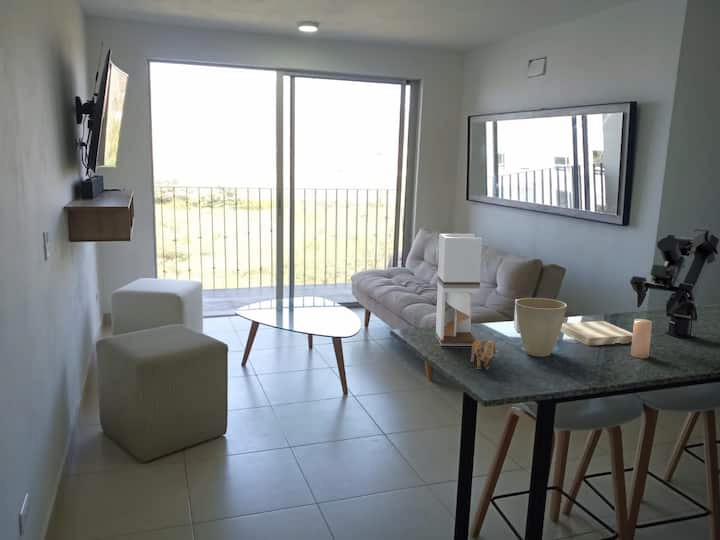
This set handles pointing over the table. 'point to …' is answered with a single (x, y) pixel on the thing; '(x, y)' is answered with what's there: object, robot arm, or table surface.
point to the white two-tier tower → (457, 287)
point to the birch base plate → (596, 333)
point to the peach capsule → (641, 338)
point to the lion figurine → (483, 352)
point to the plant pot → (539, 324)
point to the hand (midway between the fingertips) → (653, 309)
